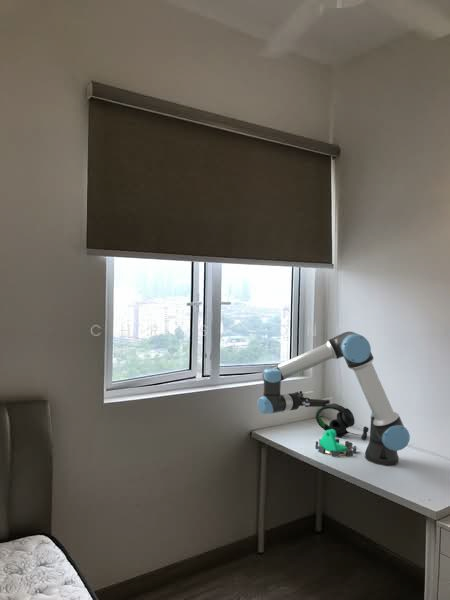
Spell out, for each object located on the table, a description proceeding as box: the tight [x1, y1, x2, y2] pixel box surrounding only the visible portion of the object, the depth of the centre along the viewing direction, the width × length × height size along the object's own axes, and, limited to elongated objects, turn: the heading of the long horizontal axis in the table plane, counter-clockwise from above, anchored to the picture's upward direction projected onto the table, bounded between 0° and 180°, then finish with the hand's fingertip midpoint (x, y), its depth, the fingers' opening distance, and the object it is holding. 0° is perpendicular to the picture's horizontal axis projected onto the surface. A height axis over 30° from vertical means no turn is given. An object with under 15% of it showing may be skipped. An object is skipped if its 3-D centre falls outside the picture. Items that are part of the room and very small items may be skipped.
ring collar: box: [315, 438, 357, 458], centre depth 236 cm, size 19×19×2 cm
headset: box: [315, 403, 370, 440], centre depth 258 cm, size 18×14×29 cm
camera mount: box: [318, 429, 347, 453], centre depth 235 cm, size 12×8×10 cm, turn 28°
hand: (322, 397), depth 230 cm, fingers open, 13 cm apart
